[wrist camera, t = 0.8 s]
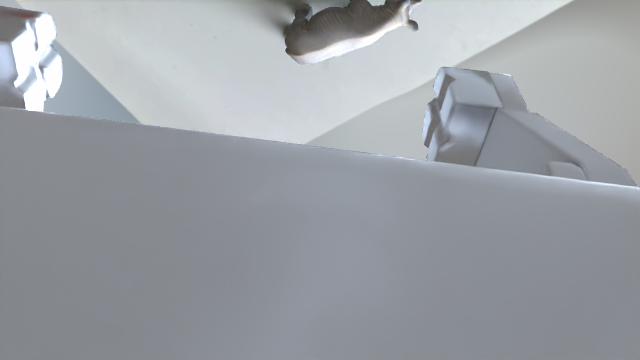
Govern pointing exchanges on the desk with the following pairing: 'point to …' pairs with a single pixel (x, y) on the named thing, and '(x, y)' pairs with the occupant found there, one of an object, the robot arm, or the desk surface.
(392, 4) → the rhino figurine
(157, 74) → the desk surface
